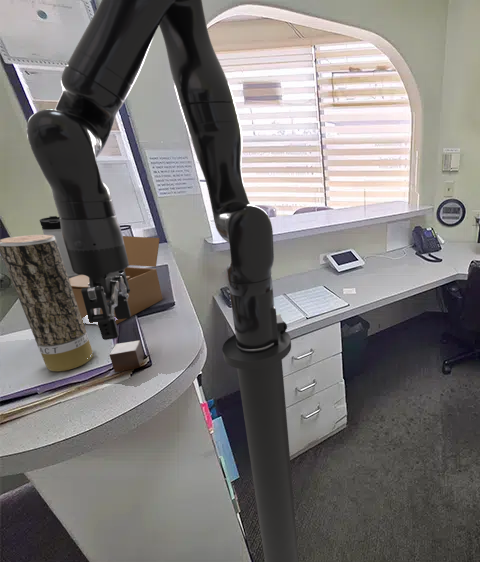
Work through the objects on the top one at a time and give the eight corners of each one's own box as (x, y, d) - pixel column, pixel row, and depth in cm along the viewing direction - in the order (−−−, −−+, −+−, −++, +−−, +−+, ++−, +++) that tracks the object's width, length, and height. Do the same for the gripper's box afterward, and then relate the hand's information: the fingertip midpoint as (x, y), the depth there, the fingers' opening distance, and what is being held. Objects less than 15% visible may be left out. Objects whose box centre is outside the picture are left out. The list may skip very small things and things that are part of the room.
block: (144, 356, 64) (140, 340, 62) (140, 367, 60) (135, 350, 59) (120, 361, 62) (115, 344, 61) (114, 372, 59) (109, 354, 57)
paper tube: (84, 349, 65) (44, 233, 57) (101, 358, 63) (62, 237, 54) (40, 366, 60) (-12, 239, 51) (57, 377, 57) (6, 245, 48)
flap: (113, 264, 88) (114, 264, 88) (155, 266, 87) (156, 266, 87) (117, 235, 89) (118, 235, 89) (159, 238, 88) (159, 238, 88)
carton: (122, 296, 91) (113, 263, 88) (163, 299, 90) (155, 266, 87) (63, 322, 76) (50, 284, 72) (112, 326, 75) (100, 288, 71)
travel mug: (83, 272, 109) (66, 215, 102) (84, 277, 105) (66, 218, 98) (59, 275, 105) (39, 216, 98) (58, 281, 101) (37, 219, 94)
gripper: (110, 251, 48) (133, 342, 54) (132, 234, 60) (149, 309, 66) (46, 255, 45) (77, 350, 51) (83, 236, 57) (105, 314, 63)
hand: (118, 327), depth 58 cm, fingers open, 8 cm apart
